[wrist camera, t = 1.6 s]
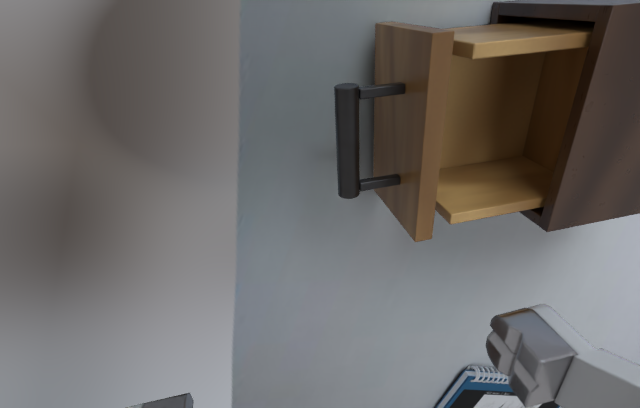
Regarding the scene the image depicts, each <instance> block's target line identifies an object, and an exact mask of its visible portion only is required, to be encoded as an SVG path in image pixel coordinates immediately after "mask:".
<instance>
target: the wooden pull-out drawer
mask: <svg viewBox="0 0 640 408" xmlns="http://www.w3.org/2000/svg"><path fill="white" fill-rule="evenodd" d="M594 25H595V22H590V21H575V20H561V19H545V20H534V21H523V22H512V23H502V24H491V25H480V26H469V27H458V28H447V29H439V28H432V27H425V26H418V25H412V24H405V23H398V22H381V23H376V24H375V85H371V86H363V87H359V85H357V84H353V83H344V84H338V85H336V86H335V87H334V95H335V120H336V145H337V171H338V194H339V196H340V197H342V198H346V199H351V198H355V197H357V196H359V194H360V191H365V190H371V189H373V190H374V191H375V192H376V193H377V195H378V196H379V197H380V198H381V200H382V201H383V202H384V203H385V205H386V206H387V207H388V208H389V210H390V211H391V212H392V213H393V215H394V216H395V217H396V218H397V220H398V221H399V222H400V224H401V225H402V226H403V227H404V229H405V230H406V231H407V232H408V234H409V235H410V236H411V237H412V239H413V240H414V241H415V242H418V241H423V240H429V239H432V233H433V224H434V215H435V210H436V211H437V212H438V213H439V214H440V215H441V216H442V217H443V218H444V219H445V220H446V221H447V222H448V223H449V224H456V223H461V222H466V221H471V220H477V219H482V218H487V217H492V216H498V215H503V214H508V213H514V212H519V211H524V210H529V209H535V208H540V207H544V205H545V202H546V198H547V194H548V191H549V187H550V184H551V180H552V176H553V173H554V169H555V166H556V162H557V158H558V155H559V151H560V148H561V144H562V140H563V137H564V133H565V130H566V126H567V122H568V119H569V115H570V112H571V108H572V104H573V101H574V97H575V94H576V90H577V86H578V83H579V79H580V76H581V72H582V68H583V65H584V61H585V58H586V54H587V50H588V47H589V43H590V40H591V36H592V32H593V29H594ZM367 98H374V172H373V178H367V179H360V177H359V99H367Z"/></svg>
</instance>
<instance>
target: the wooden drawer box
mask: <svg viewBox="0 0 640 408" xmlns="http://www.w3.org/2000/svg"><path fill="white" fill-rule="evenodd" d="M545 19H561V20H575V21H590V22H595V25H594V29H593V32H592V36H591V40H590V43H589V47H588V50H587V54H586V58H585V61H584V65H583V68H582V72H581V76H580V79H579V83H578V86H577V90H576V94H575V97H574V101H573V104H572V108H571V112H570V115H569V119H568V122H567V126H566V130H565V133H564V137H563V140H562V144H561V148H560V151H559V155H558V158H557V162H556V166H555V169H554V173H553V176H552V180H551V184H550V187H549V191H548V194H547V198H546V202H545V205H544V207H540V208H535V209H529V210H524V211H519V212H520V213H522V214H523V215H524V216H526V217H527V218H528V219H530V220H531V221H533V222H534V223H535V224H537V225H539V227H541V228H542V229H543V230H545V231H546V232H550V231H555V230H560V229H565V228H570V227H574V226H579V225H584V224H589V223H594V222H599V221H604V220H609V219H614V218H619V217H624V216H629V215H634V214H638V213H640V0H516V1H504V2H494V3H493V8H492V14H491V21H490V25H491V24H502V23H512V22H523V21H534V20H545Z"/></svg>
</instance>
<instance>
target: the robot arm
mask: <svg viewBox="0 0 640 408" xmlns="http://www.w3.org/2000/svg"><path fill="white" fill-rule="evenodd" d="M490 326H491V327H492V329H493V331H492V332H491V333H490V334H489V335H488V336H487V341H486V348H487V353H488V356H489V358H490V360H491V362H492V363H493V365H494V366H495V368H496V369H497V370H498V371H499V372H501V373H503V374H505V375H506V376H508V384H509V387H510V388H511V389H512V391H513V392H514V393H515V394H516V396H517V397H518V398H519V400H520V401H521V402H522V404H523V405H524V406H525V408H528V407H531V406H535V405H539V404H543V403H546V402H550V401H554V400H555V403H556V404H558V405H559V406H561V407H562V408H640V365H638V364H636V363H633V362H631V361H629V360H627V359H624V358H622V357H620V356H618V355H615V354H613V353H611V352H609V351H606V350H604V349H602V348H600V349H595V348H594V347H593V346H592V345H591V344H590V343H589V342H588V341H587V340H586V339H585V338H584V337H583V336H581V335H580V334H579V333H578V332H577V331H576V330H575V329H574V328H573V327H572V326H571V325H570V324H569V323H568V322H566V321H565V320H564V319H563V318H562V317H561V316H560V315H559V314H558V313H557V312H556V311H555V310H554V309H553V308H551V307H550V306H548V305H546V304H539V305H536V306H532V307H528V308H522V309H518V310H515V311H511V312H507V313H504V314H500V315H496V316H494V317H493V318H492V320H491V324H490ZM127 408H193V399H192V396H191V394H190V393H187V394H182V395H178V396H174V397H169V398H165V399H161V400H157V401H153V402H148V403H143V404H139V405H135V406H131V407H127Z"/></svg>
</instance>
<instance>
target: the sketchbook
mask: <svg viewBox="0 0 640 408" xmlns="http://www.w3.org/2000/svg"><path fill="white" fill-rule="evenodd" d="M470 367H472V368H471V370H469V368H470ZM473 368H474V369H475V370H473ZM479 368H481V371H480V370H479ZM484 368H485V369H486V370H484ZM489 369H491V370H490V371H489ZM493 369H495V371H494V370H493ZM482 370H483V371H482ZM492 371H493V372H492ZM559 407H560V406H559V405H558V404H556V403H555V400H554V401H550V402H546V403H543V404H539V405H535V406H531V407H528V408H559ZM435 408H525V406H524V405H523V404H522V402H521V401H520V400H519V398H518V397H517V396H516V394H515V393H514V392H513V391H512V389H511V388H510V387H509V384H508V376H506V375H505V374H503V373H501V372H499V371H498V370H497V369H496V368H494V367H493V368H491V367H488V368H487V367H481V366H478V367H477V366H472V365H471V366H468V367H467V369H466V370H464V371H463V372H462V373H461V375H460V376H459V377H458V379H457V380H456V381H455V383H454V384H453V385H452V387H451V388H450V389H449V390H448V392H447V393H446V394H445V396H444V397H443V398H442V400H441V401H440V402H439V403H438V405H437V406H436V407H435Z"/></svg>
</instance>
